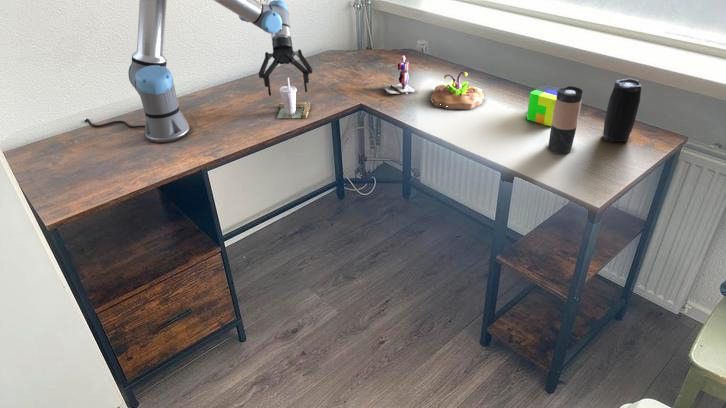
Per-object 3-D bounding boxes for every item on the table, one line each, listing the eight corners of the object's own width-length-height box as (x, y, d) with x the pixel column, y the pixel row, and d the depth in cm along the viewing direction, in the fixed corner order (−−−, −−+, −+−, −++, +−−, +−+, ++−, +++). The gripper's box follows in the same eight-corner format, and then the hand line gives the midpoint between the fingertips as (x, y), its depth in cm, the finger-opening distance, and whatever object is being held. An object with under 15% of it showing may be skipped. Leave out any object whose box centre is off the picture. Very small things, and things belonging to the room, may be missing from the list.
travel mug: (568, 156, 175) (580, 97, 164) (544, 150, 178) (554, 92, 167) (574, 146, 180) (586, 88, 169) (551, 141, 184) (561, 84, 172)
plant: (478, 112, 204) (481, 83, 198) (426, 107, 210) (427, 78, 203) (486, 92, 220) (489, 64, 214) (438, 87, 225) (439, 60, 219)
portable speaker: (595, 138, 184) (608, 82, 173) (611, 129, 189) (624, 75, 178) (619, 147, 179) (634, 90, 168) (634, 138, 184) (649, 82, 173)
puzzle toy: (565, 117, 198) (570, 91, 193) (552, 126, 192) (557, 100, 187) (540, 110, 204) (544, 84, 198) (526, 119, 198) (530, 93, 193)
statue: (405, 87, 229) (409, 51, 222) (414, 95, 222) (419, 58, 214) (381, 89, 225) (384, 52, 218) (390, 96, 218) (393, 59, 210)
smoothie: (296, 116, 206) (292, 81, 198) (279, 115, 207) (275, 80, 199) (301, 109, 211) (297, 74, 203) (285, 108, 212) (280, 74, 204)
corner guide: (274, 118, 205) (274, 115, 205) (279, 106, 215) (279, 102, 214) (306, 118, 205) (306, 114, 204) (310, 105, 214) (310, 102, 213)
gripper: (247, 38, 206) (253, 91, 202) (314, 33, 209) (321, 85, 205) (250, 48, 213) (255, 99, 209) (314, 42, 216) (320, 93, 212)
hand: (288, 92), depth 207 cm, fingers open, 13 cm apart
